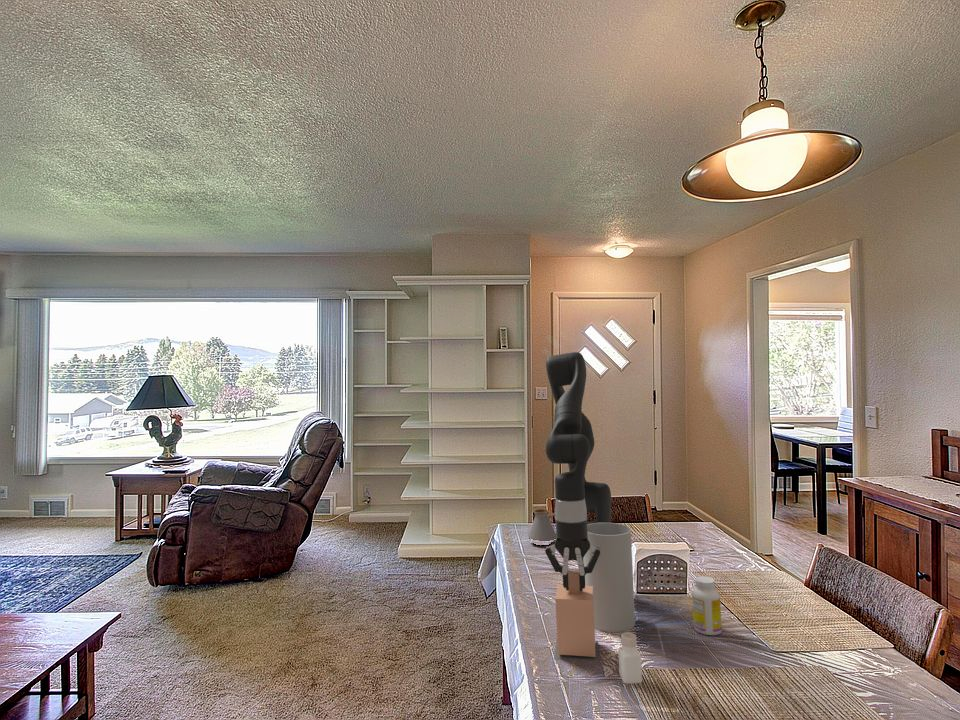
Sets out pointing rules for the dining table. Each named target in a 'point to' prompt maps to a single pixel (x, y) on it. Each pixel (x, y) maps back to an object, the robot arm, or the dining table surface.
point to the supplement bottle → (706, 607)
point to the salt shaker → (629, 659)
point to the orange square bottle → (575, 618)
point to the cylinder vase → (611, 577)
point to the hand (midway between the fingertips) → (574, 589)
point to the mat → (577, 658)
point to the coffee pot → (542, 526)
